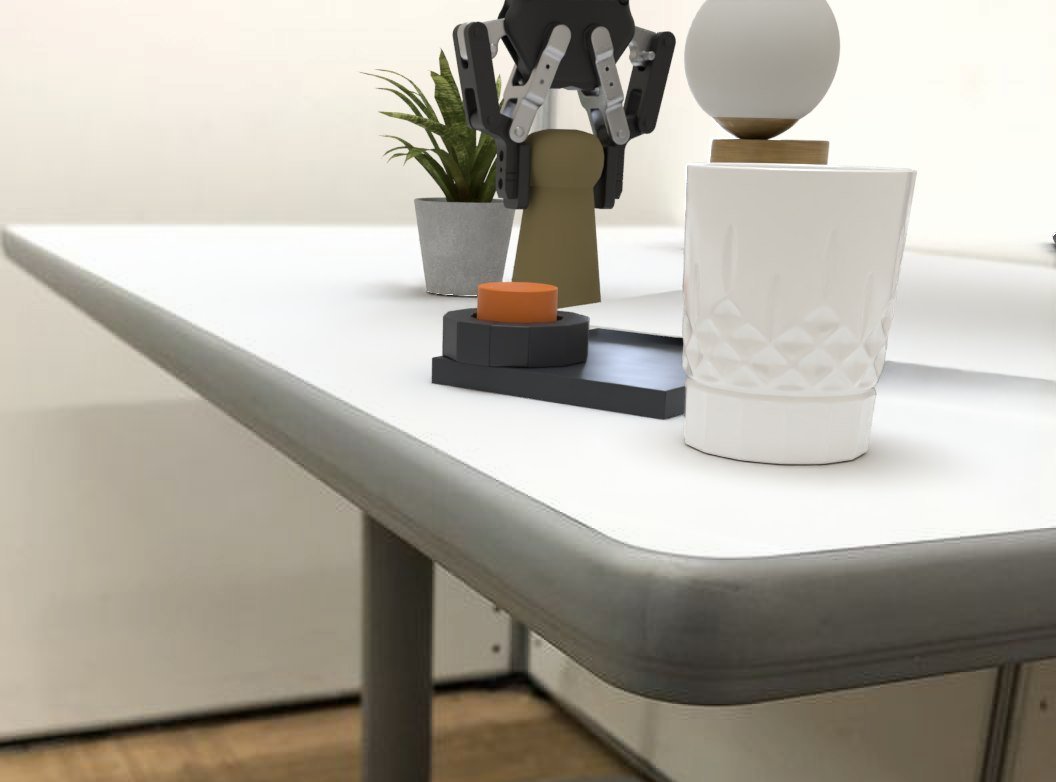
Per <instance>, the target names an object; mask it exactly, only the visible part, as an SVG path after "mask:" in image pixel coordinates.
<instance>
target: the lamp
mask: <svg viewBox="0 0 1056 782" xmlns="http://www.w3.org/2000/svg"><path fill="white" fill-rule="evenodd" d="M683 52H684V53H683V64H684V66H683V67H684V72H685V78H686V81H687V85H688V87H689V90H690V92H691V94H692V96H693V99H694V101H696V103H697V105H698V106H699V108H701V110H702V111H703V112H704V113H705V114H707V115H708V116H709V117H711V120H712V121H713V123H715V124H716V125H717V126H718V127H719V128H720V129H721V130H723V132H725V133H727V134H728V135H730V136H731V137H711V138H710V139H709V147H708V148H709V150H708V162H707V163H777V164H815V165H828V161H829V153H830V152H829V151H830V141H829V140H821V139H820V140H819V139H787V138H786V139H784V138H776V137H778V136H780V135H782V134H783V133H785V132H786V131H788V130H790V129H792V127H794V126H795V125H796V124H798V122H799V121H800V120H801V119H803V118H805V117H806V116H808V115H809V114H810V113H812V112H813V111H814V110H815V108H817V106H819V104H820V103H821V102H822V101H823V99H824V98H825V96H826V95H827V93H828V92H829V90H830V88H831V86H832V84H833V82H834V79H835V76H836V74H837V70H838V67H839V62H840V56H841V37H840V31H839V25H838V21H837V19H836V16H835V14H834V12H833V10H832V8H831V6H830V4H829V3H828V1H827V0H704V2H703V3H702V5H700V7H699V8H698V10H697V12H696V13H695V15H694V17H693V19H692V21H691V24H690V26H689V29H688V32H687V35H686V39H685V45H684V51H683Z"/></svg>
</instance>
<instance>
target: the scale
mask: <svg viewBox="0 0 1056 782" xmlns="http://www.w3.org/2000/svg"><path fill="white" fill-rule="evenodd" d="M590 322H591V318H590V316H588V315H585V314H581V313H578V312H573V311H567V310H566V311H564V310H559V309H557V321H552V322H532V323H517V322H498V321H490V320H481V319H477V307H469V308H462V309H456V310H455V309H454V310H449V311H447V312H446V313H444V315H443V316H442V347H441V348H442V350H441V355H438V356H432V357H431V384H434V385H439V386H448V387H453V388H459V389H465V390H471V391H472V390H473V391H477V392H483V393H484V392H485V393H490V394H497V395H503V396H509V397H510V396H511V397H516V398H522V397H523V399H528V398H529V399H530V400H535V401H542V402H548V403H555V404H559V405H560V404H562V405H567V406H572V407H573V406H574V407H579V408H586V409H591V410H598V411H605V412H612V413H618V414H624V415H631V416H637V417H642V418H650V419H656V420H661V421H666V420H669V419H672V418H675V417H678V416H684V404H685V378H686V377H687V375H686V373H685V372H684V370H683V368H682V354H683V337H677V336H676V337H675V336H668V335H660V334H651V333H644V332H637V331H635V332H634V331H626V330H618V329H610V328H602V327H601V328H600V327H596V328H595V327H594V328H590Z"/></svg>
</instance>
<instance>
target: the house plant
mask: <svg viewBox="0 0 1056 782" xmlns="http://www.w3.org/2000/svg"><path fill="white" fill-rule="evenodd" d="M439 49H440V51H439V57H438V65H439V73H438V72H435V71H433V70H430V69H428V71H429V72H430V77H431V79H432V81H433V83H434V95H433V98H434V100H435V102H436V105H437V107H438V109H439V112H440V113H441V114H440V115H441V117H442V120H443V123H441V122H440V120H439V118H438V116H437V114H436V113H435V110H434V108H433V107H432V105H431V104H430V102H429V100H428V99H427V97H426V96H425V95H424V93H423V91H422V90H421V89H420V87H419V86H417V84H415V83H414V81H412V80H411V79H409V78H408V77H406V76H405V75H403V74H401V73H398V72H396V71H393V70H389V69H381V68H380V69H379V68H374V70H376V71H381V72H387V73H391V74H395V75H398V76H400V77H402V78H403V79H405V80H407V81H408V82H409V83H410V84H411V85H412V86H413V88H414V90H415V91H416V92H415V91H414V90H413V91H412V90H409V89H408V88H407V87H405V85H403V84H400V83H398V82H396V81H395V80H393V79H390V78H387V77H385V76H381V75H379V74H378V75H377V74H374V73H367V72H362V71H359V73H360V74H364V75H368V76H372V77H376V78H379V79H381V80H384V81H387V82H388V83H390V84H392V85H393V86H394V87H396V88H398V90H400V91H401V92H400V91H398V90H396V89H394V88H393V89H392V88H388V87H375V89H378V90H382V91H383V90H384V91H388V92H391V93H393V94H394V95H396V96H398V98H400V99H401V100H402V102H404V103H405V104H406V105H407V106H408V107H409V109H410V110H411V111H412V112H413V113H414V114H411V113H404V112H398V111H397V112H393V111H379V113H380V114H382V115H385V116H387V117H389V118H394V119H399V120H403V121H406V122H409V123H412V124H414V125H416V126H418V127H420V128H422V129H424V131H425V132H426V134H427V136H428V138H429V140H430V142H431V145H432V146H433V148H424V147H417V146H414V145H412V144H411V143H410V142H408V141H407V140H405V139H403V138H401V137H398V136H396V135H391V134H385V135H383V138H384V137H385V138H391V139H395V140H397V141H399V142H401V144H403V145H402V146H397V147H393V148H391V149H389V150H387V151H385V153H384V154H383V155H382V156H381V158H382V157H384V156H387V154H389V153H391V152H393V151H396V150H397V151H398V150H401V149H407V150H408V152H407V153H404V152H397V153H394V154H393V155H391V156H390V158H388V161H387V162H386V164H388V163H389V162H390V161H391V160H392V159H394V158H396V157H402V156H405V159H404V163H403V167H404V166H405V164H406V163H407V162H408V161H409V160H410V159H412V158H414V159H415V160H416V161H417V162H418V163H419V164H420V165H421V166H422V167H423V169H424V170H425V171H426V172H427V173H428V175H429V176H430V177H431V178H432V180H434V182H435V183H436V185H437V186H438V187H439V188H440V190H441V191H442V193H443V195H444V197H443V196H442V197H437V196H436V197H418V198H414V199H413V204H414V208H415V209H414V211H415V218H416V224H417V231H418V240H419V247H420V254H421V262H422V267H423V274H424V275H423V276H424V282H425V290H426V292H427V291H429V292H432V293H439V294H453V295H478V285H480V284H484V283H492V282H503V280H504V274H505V268H506V263H507V258H508V252H509V247H510V241H511V236H512V232H513V225H514V220H515V214H516V210H517V209H508V208H505V207H504V204H503V198H495V197H494V196H495V195H496V193H497V192H496V173H497V172H496V163H497V145H496V142H495V140H494V139H493V138H492V137H491V136H489V135H487V134H485V133H483V132H480V135H479V139H478V142H477V130H472V129H470V128H469V127H468V125H467V123H466V117H465V111H464V104H463V99H462V96H461V94H460V91H459V87H458V85H457V83H456V81H455V78H454V75H453V73H452V70H451V67H450V64H449V61H448V59H447V56H446V53H445V52H444V51H443V49H442V48H441V47H439ZM355 72H358V71H355ZM495 81H496V88H497V94H498V101H500V98H501V92H502V77H501V73H498V76H497V78H496V80H495ZM402 92H403V93H404V94H403V93H402ZM406 95H407V96H408V97H407V96H406ZM419 97H420V99H419ZM412 101H413V102H412ZM503 102H504V98H502V99H501V101H500V102H499V108H500V110H501V108H502V105H503ZM414 103H415V104H414ZM417 106H418V107H417ZM419 109H420V110H421V111H422V113H423V114H424V115H425V116H426V117H424V116H423V114H422V113H421V111H420V110H419ZM434 134H435V135H436V136H439V137H440V139H441V142H442V143H443V145H444V147H445V149H446V150H445V149H443V148H440V146H439V143H438V141H437V140H436V138H435V136H434ZM378 136H380V137H382V135H378ZM429 151H431V152H433V153H434V154H436V156H438V158H439V160H440V162H441V164H442V165H441V164H440V163H439V162H438V160H436V159H435V158H433V156H432V155H431V154H430V153H429Z"/></svg>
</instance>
